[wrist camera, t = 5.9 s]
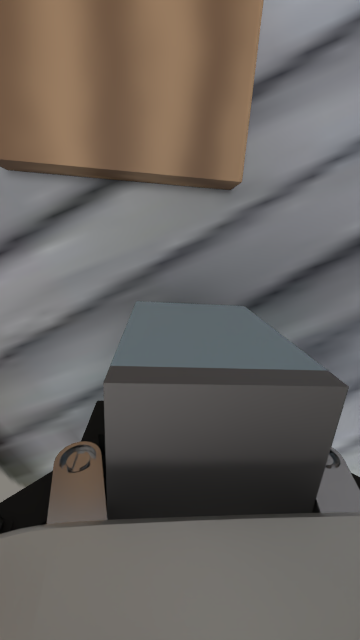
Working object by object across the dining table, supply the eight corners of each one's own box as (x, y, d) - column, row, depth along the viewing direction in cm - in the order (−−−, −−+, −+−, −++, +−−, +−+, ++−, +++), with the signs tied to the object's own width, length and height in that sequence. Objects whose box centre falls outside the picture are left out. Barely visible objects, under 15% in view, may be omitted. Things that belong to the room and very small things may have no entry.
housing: (244, 305, 12) (348, 386, 5) (222, 458, 14) (274, 639, 8) (136, 301, 11) (103, 382, 5) (134, 459, 14) (111, 651, 7)
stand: (250, 7, 18) (267, -37, 15) (230, 190, 22) (241, 181, 19) (-18, -39, 16) (-54, -98, 14) (7, 169, 20) (-18, 157, 17)
